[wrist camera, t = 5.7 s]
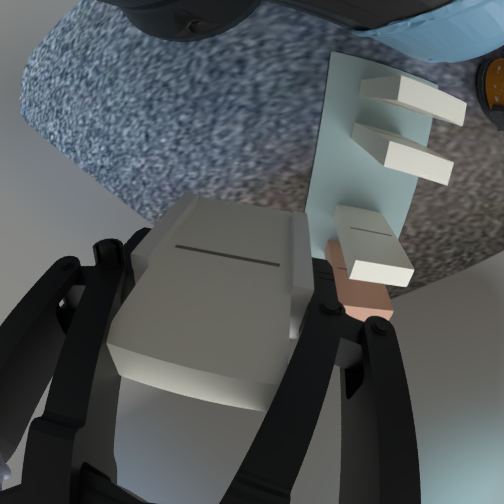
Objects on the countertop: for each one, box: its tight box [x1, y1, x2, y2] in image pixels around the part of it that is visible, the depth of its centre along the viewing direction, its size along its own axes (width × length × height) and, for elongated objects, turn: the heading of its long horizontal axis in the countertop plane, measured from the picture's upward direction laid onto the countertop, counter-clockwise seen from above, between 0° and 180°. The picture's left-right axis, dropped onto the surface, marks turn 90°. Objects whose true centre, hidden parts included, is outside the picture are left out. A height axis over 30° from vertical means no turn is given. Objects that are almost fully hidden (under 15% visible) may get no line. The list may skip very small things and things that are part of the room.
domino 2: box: [359, 75, 467, 126], centre depth 18 cm, size 2×5×11 cm, turn 84°
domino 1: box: [106, 197, 292, 412], centre depth 12 cm, size 2×5×11 cm, turn 82°
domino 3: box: [351, 122, 454, 185], centre depth 20 cm, size 2×5×11 cm, turn 84°
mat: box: [304, 51, 438, 259], centre depth 28 cm, size 25×12×1 cm, turn 174°
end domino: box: [324, 240, 394, 322], centre depth 28 cm, size 2×5×11 cm, turn 84°
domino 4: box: [333, 204, 414, 287], centre depth 25 cm, size 2×5×11 cm, turn 84°
